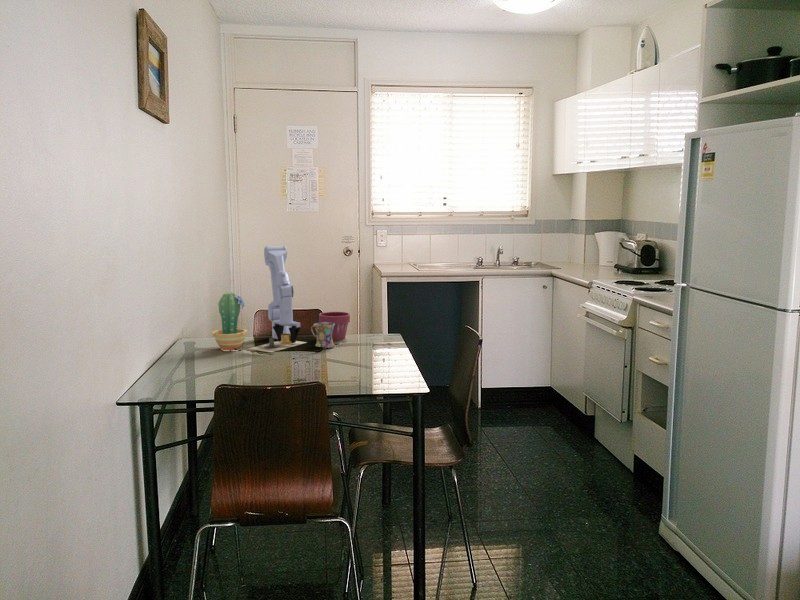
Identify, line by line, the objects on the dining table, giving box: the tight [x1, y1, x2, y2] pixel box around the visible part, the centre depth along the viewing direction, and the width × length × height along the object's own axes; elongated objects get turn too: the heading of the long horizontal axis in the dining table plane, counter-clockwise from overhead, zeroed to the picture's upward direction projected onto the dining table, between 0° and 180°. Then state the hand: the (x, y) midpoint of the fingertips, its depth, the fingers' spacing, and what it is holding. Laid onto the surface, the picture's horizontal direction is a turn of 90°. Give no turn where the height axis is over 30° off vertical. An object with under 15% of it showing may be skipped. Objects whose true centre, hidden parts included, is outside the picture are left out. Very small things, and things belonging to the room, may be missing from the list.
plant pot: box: [318, 311, 351, 341], centre depth 315 cm, size 14×14×13 cm
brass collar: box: [281, 333, 292, 344], centre depth 305 cm, size 5×5×4 cm
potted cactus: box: [211, 292, 248, 351], centre depth 297 cm, size 15×15×25 cm
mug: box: [310, 322, 335, 350], centre depth 301 cm, size 12×9×11 cm
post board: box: [246, 337, 308, 355], centre depth 300 cm, size 24×14×5 cm, turn 148°
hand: (287, 341), depth 305 cm, fingers open, 7 cm apart
